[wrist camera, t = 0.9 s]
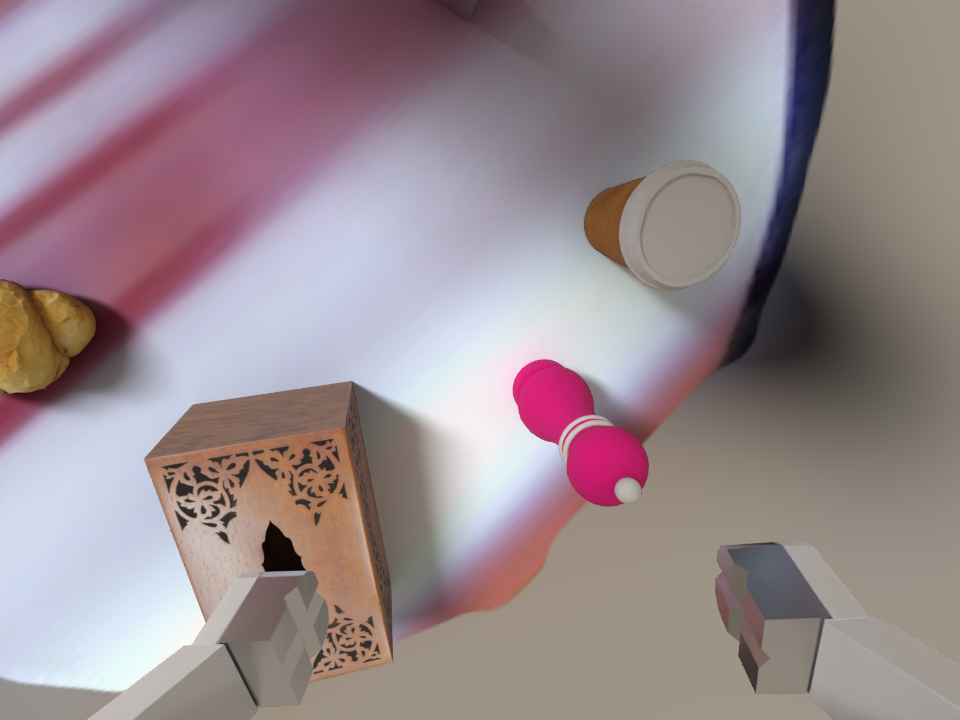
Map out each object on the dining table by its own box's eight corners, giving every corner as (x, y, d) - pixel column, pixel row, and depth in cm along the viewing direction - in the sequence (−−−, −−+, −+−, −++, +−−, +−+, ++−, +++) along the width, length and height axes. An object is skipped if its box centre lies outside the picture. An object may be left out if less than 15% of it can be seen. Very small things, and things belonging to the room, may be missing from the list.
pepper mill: (573, 350, 50) (688, 442, 31) (572, 412, 52) (678, 532, 33) (506, 358, 48) (584, 459, 30) (508, 421, 51) (582, 551, 32)
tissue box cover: (193, 403, 44) (143, 458, 35) (351, 380, 46) (344, 426, 37) (260, 612, 53) (235, 700, 43) (390, 584, 55) (393, 662, 46)
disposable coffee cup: (575, 281, 47) (636, 307, 36) (560, 181, 44) (621, 176, 33) (663, 257, 48) (747, 275, 37) (654, 158, 45) (745, 145, 34)
